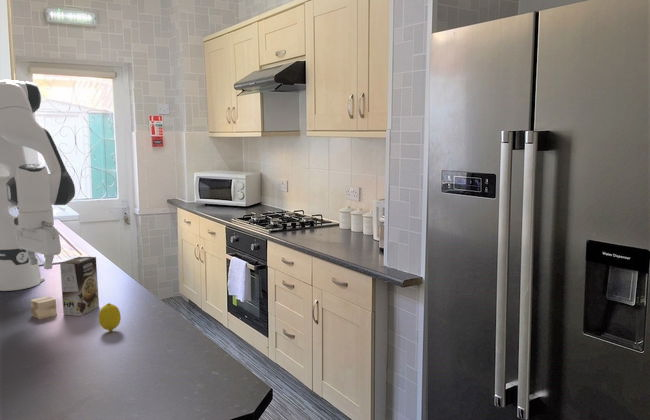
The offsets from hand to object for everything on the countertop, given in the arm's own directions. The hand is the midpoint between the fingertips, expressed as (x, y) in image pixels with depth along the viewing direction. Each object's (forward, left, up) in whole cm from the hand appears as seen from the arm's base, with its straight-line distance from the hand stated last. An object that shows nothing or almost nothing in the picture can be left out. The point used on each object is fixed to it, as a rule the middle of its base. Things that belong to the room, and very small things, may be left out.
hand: (40, 266), depth 162 cm
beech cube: (0, 0, -15) cm, 15 cm away
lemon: (+28, +5, -15) cm, 32 cm away
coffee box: (+5, +9, -15) cm, 18 cm away
